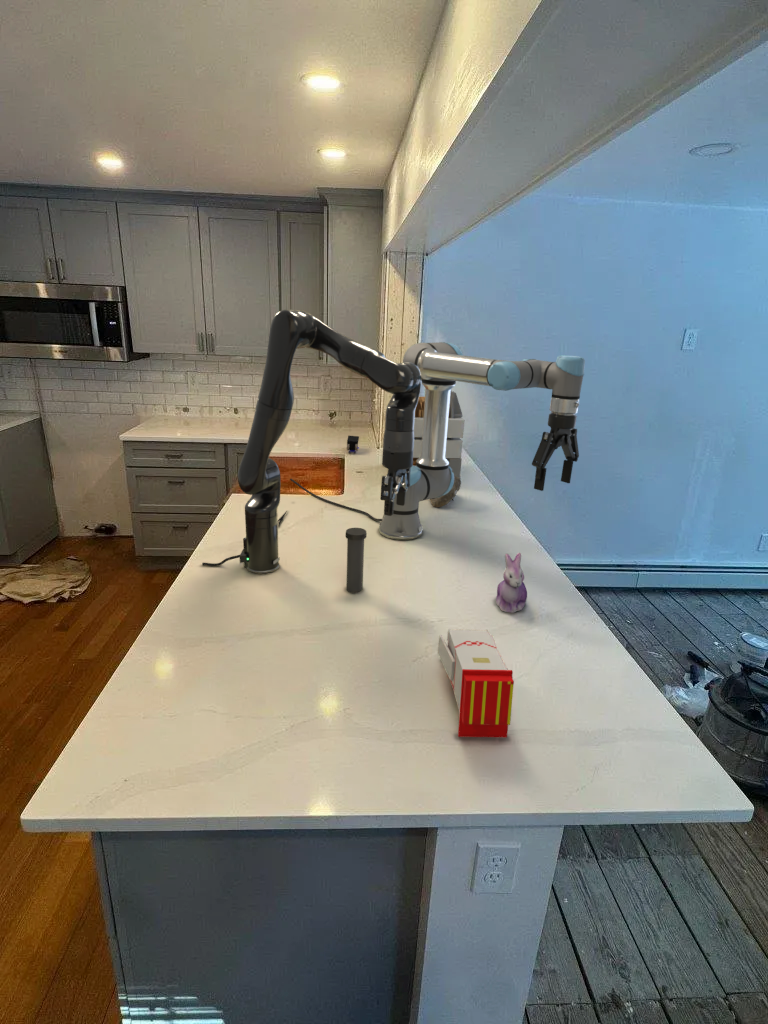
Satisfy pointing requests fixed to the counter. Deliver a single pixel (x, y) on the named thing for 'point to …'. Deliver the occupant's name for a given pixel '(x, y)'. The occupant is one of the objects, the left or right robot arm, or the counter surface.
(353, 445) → the figurine character
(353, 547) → the dark grey cylinder
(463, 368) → the right robot arm
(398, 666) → the counter surface
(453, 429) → the white wooden crate
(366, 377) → the left robot arm
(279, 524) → the feather
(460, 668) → the toy
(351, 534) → the lid
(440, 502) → the fossil
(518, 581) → the figurine
